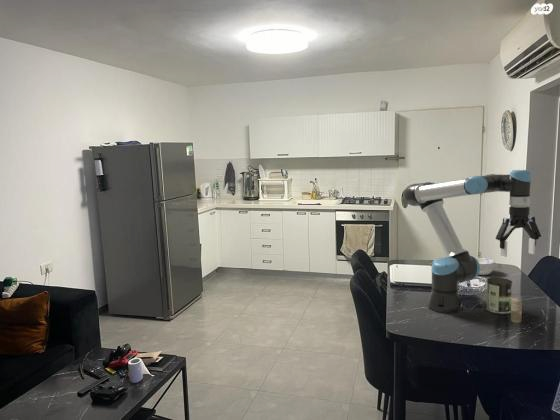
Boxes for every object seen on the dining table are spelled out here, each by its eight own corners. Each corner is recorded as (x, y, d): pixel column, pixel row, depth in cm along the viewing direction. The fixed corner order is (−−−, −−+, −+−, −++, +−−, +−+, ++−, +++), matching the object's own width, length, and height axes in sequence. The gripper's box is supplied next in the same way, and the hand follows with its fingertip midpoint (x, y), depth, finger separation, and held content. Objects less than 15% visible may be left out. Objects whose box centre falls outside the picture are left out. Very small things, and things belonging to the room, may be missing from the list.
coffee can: (511, 307, 194) (512, 278, 192) (510, 315, 185) (511, 285, 183) (487, 304, 199) (488, 276, 197) (485, 311, 191) (485, 282, 189)
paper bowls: (462, 270, 258) (462, 258, 257) (485, 269, 260) (485, 256, 259) (476, 277, 243) (476, 264, 242) (500, 275, 245) (500, 262, 244)
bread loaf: (515, 323, 176) (516, 300, 175) (508, 319, 180) (509, 297, 179) (523, 322, 177) (524, 299, 176) (516, 318, 181) (517, 296, 180)
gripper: (499, 208, 170) (498, 259, 172) (552, 205, 174) (549, 254, 176) (487, 206, 177) (486, 255, 180) (538, 203, 181) (536, 250, 184)
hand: (517, 254), depth 178 cm, fingers open, 13 cm apart
